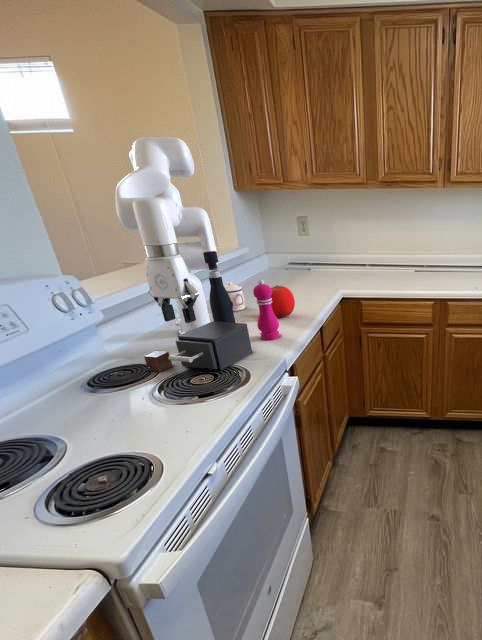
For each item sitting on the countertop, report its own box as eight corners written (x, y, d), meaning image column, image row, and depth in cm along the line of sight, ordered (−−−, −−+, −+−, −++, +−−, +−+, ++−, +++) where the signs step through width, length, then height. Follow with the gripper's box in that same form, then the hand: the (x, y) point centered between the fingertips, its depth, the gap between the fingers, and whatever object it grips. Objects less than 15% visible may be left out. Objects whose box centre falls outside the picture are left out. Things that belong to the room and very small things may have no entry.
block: (148, 370, 121) (143, 356, 119) (160, 364, 125) (156, 350, 123) (160, 371, 119) (156, 357, 118) (172, 366, 123) (168, 351, 122)
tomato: (295, 311, 176) (291, 281, 171) (297, 318, 166) (293, 286, 161) (265, 314, 173) (259, 284, 167) (265, 322, 162) (260, 290, 157)
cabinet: (221, 370, 119) (213, 338, 115) (185, 366, 122) (177, 335, 119) (252, 352, 132) (246, 323, 128) (219, 349, 135) (213, 321, 131)
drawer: (199, 378, 112) (193, 351, 109) (166, 374, 116) (159, 347, 112) (244, 353, 129) (239, 329, 126) (214, 350, 132) (209, 326, 129)
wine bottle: (220, 348, 136) (198, 254, 124) (218, 342, 142) (197, 251, 129) (240, 344, 139) (221, 252, 127) (238, 339, 144) (219, 249, 132)
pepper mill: (274, 340, 141) (265, 282, 133) (255, 340, 143) (244, 281, 135) (284, 334, 148) (275, 277, 140) (266, 333, 149) (256, 277, 141)
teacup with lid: (219, 310, 181) (213, 283, 176) (237, 305, 188) (232, 279, 183) (237, 313, 175) (231, 286, 171) (254, 308, 182) (249, 281, 177)
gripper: (123, 253, 103) (143, 323, 111) (178, 254, 98) (196, 327, 106) (148, 249, 110) (166, 315, 117) (201, 249, 105) (216, 318, 112)
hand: (180, 320), depth 111 cm, fingers open, 6 cm apart
